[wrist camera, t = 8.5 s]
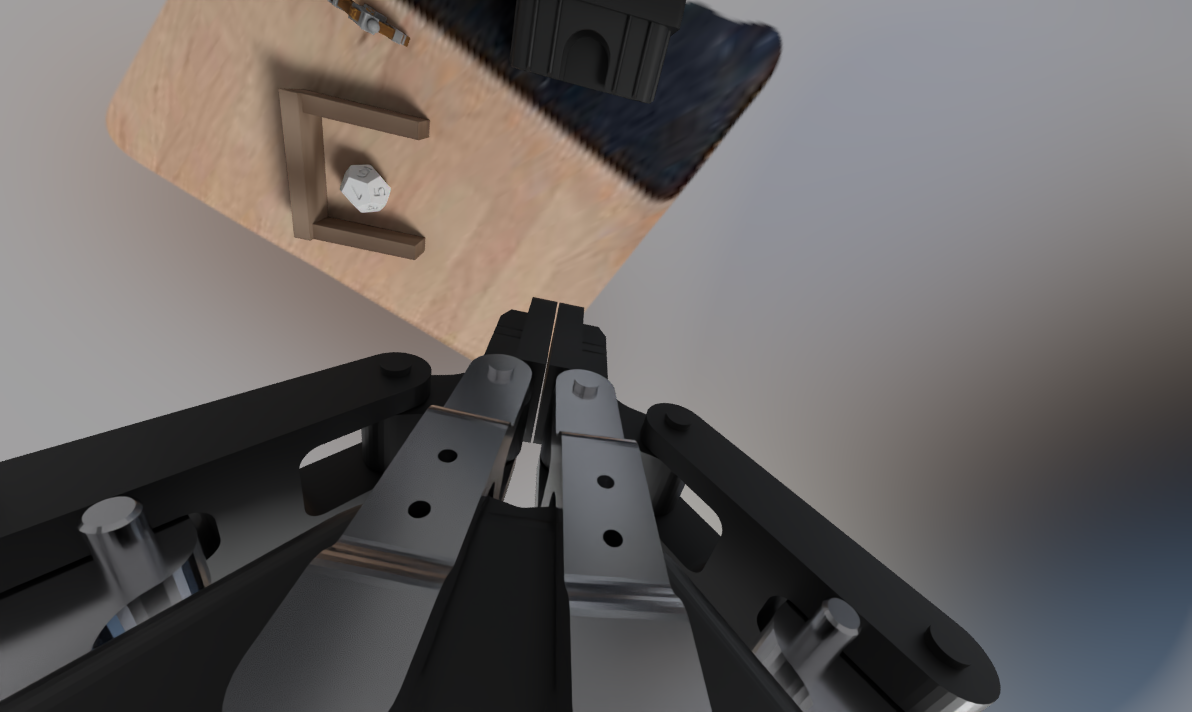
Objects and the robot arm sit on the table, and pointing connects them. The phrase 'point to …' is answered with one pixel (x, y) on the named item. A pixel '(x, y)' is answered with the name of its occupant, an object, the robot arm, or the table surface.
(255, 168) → the table surface
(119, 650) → the robot arm
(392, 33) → the wooden post with brackets
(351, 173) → the game die
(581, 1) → the end cap
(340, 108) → the dice corral
